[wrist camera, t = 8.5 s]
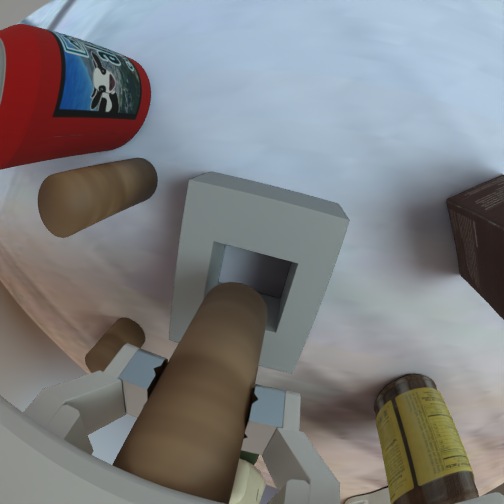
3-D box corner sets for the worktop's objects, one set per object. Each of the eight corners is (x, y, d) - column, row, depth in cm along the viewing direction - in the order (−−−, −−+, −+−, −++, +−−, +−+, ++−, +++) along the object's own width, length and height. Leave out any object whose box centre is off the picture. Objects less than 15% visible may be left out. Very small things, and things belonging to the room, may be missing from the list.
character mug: (247, 446, 27) (224, 550, 15) (185, 422, 27) (144, 524, 15) (300, 392, 23) (288, 534, 11) (222, 360, 23) (171, 503, 11)
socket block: (294, 336, 21) (292, 373, 18) (188, 308, 22) (168, 339, 18) (338, 204, 18) (349, 220, 14) (211, 171, 18) (188, 179, 14)
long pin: (259, 344, 14) (205, 576, 4) (199, 328, 14) (95, 538, 4) (275, 292, 13) (219, 572, 3) (208, 274, 13) (64, 514, 3)
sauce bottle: (391, 424, 24) (412, 603, 5) (359, 398, 23) (372, 616, 4) (446, 390, 21) (499, 571, 3) (422, 357, 20) (486, 584, 2)
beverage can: (176, 89, 16) (33, 46, 5) (119, 169, 19) (-27, 212, 8) (114, 43, 16) (-19, 4, 4) (66, 118, 18) (-67, 131, 7)
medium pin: (154, 205, 19) (80, 244, 12) (118, 197, 20) (38, 229, 12) (160, 161, 18) (82, 178, 11) (122, 155, 18) (38, 170, 11)
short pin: (144, 351, 24) (119, 388, 20) (115, 339, 24) (87, 373, 20) (145, 324, 23) (116, 362, 18) (114, 313, 23) (82, 346, 19)
